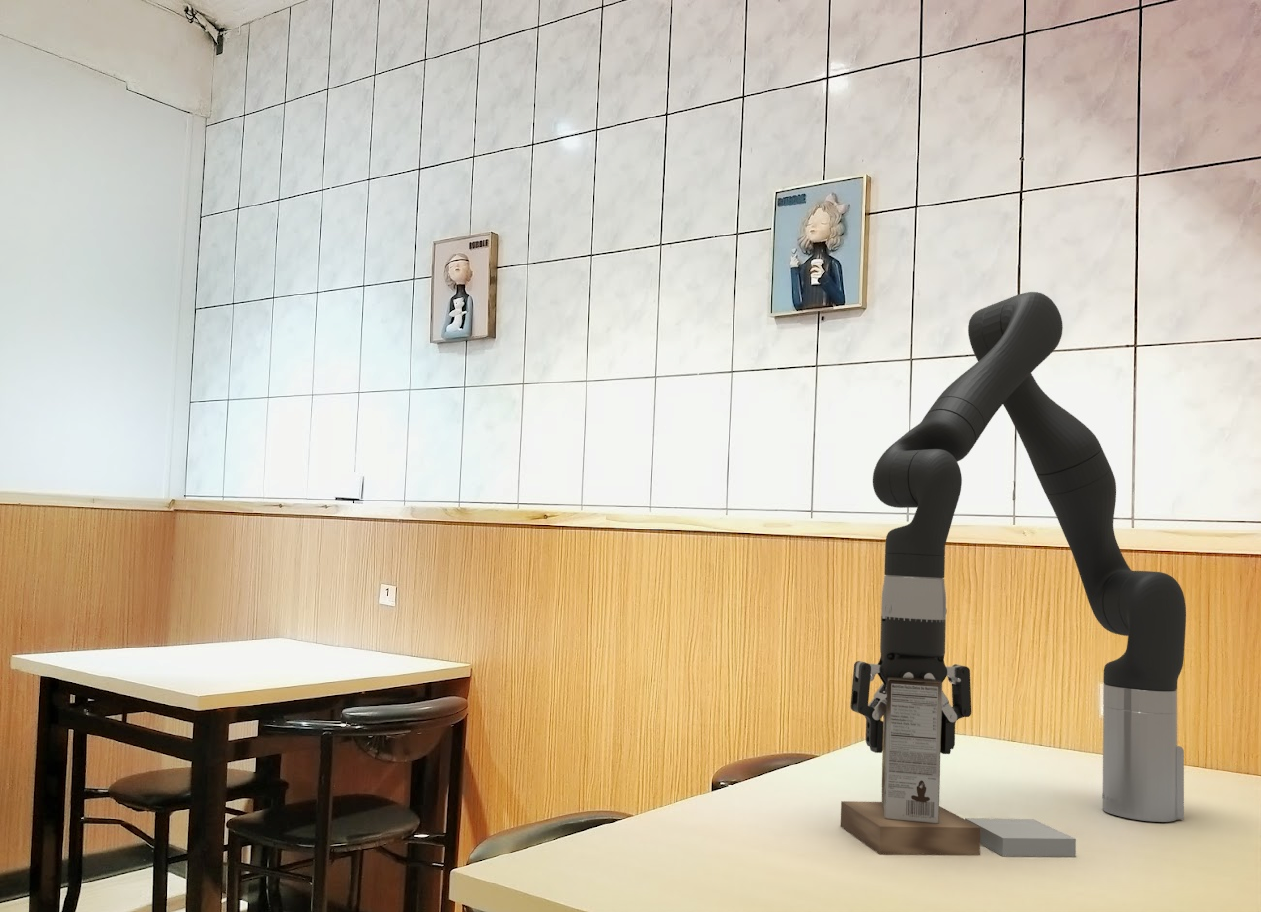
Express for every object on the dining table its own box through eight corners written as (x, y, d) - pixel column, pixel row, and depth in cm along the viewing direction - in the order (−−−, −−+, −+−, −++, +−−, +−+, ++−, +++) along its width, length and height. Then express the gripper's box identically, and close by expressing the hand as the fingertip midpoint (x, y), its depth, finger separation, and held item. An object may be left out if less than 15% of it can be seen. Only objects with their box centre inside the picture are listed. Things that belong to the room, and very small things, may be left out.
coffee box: (879, 802, 130) (883, 670, 131) (933, 807, 129) (936, 674, 130) (883, 819, 121) (887, 677, 122) (941, 824, 120) (944, 681, 121)
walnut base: (932, 827, 131) (933, 802, 131) (979, 854, 119) (980, 827, 119) (840, 826, 129) (841, 801, 129) (879, 854, 117) (880, 826, 117)
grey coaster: (1033, 835, 129) (1033, 819, 129) (1075, 856, 120) (1075, 838, 121) (964, 835, 128) (965, 818, 128) (1002, 856, 119) (1002, 838, 119)
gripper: (954, 615, 131) (951, 748, 130) (845, 610, 129) (841, 745, 128) (983, 619, 124) (981, 760, 122) (869, 614, 122) (865, 757, 120)
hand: (909, 752), depth 125 cm, fingers open, 8 cm apart
